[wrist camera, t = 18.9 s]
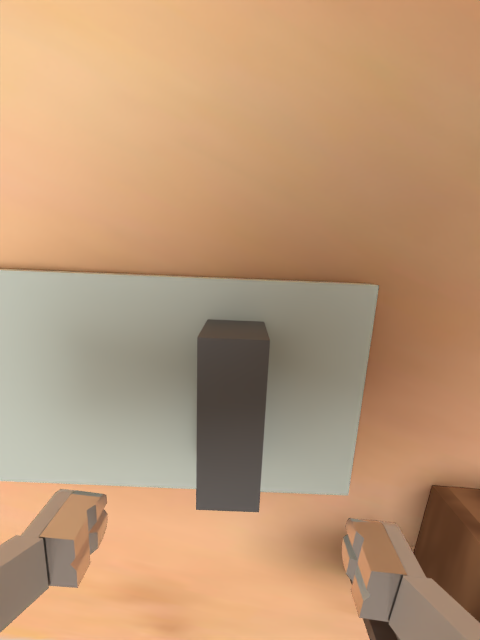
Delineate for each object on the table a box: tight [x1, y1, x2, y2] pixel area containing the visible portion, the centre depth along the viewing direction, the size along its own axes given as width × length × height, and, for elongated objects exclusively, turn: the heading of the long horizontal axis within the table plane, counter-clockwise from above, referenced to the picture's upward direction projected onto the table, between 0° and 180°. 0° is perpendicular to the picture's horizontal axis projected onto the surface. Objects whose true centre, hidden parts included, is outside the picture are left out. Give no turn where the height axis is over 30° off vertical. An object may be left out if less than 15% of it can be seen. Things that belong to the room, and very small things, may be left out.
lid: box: [0, 269, 379, 512], centre depth 18 cm, size 25×15×6 cm, turn 88°
